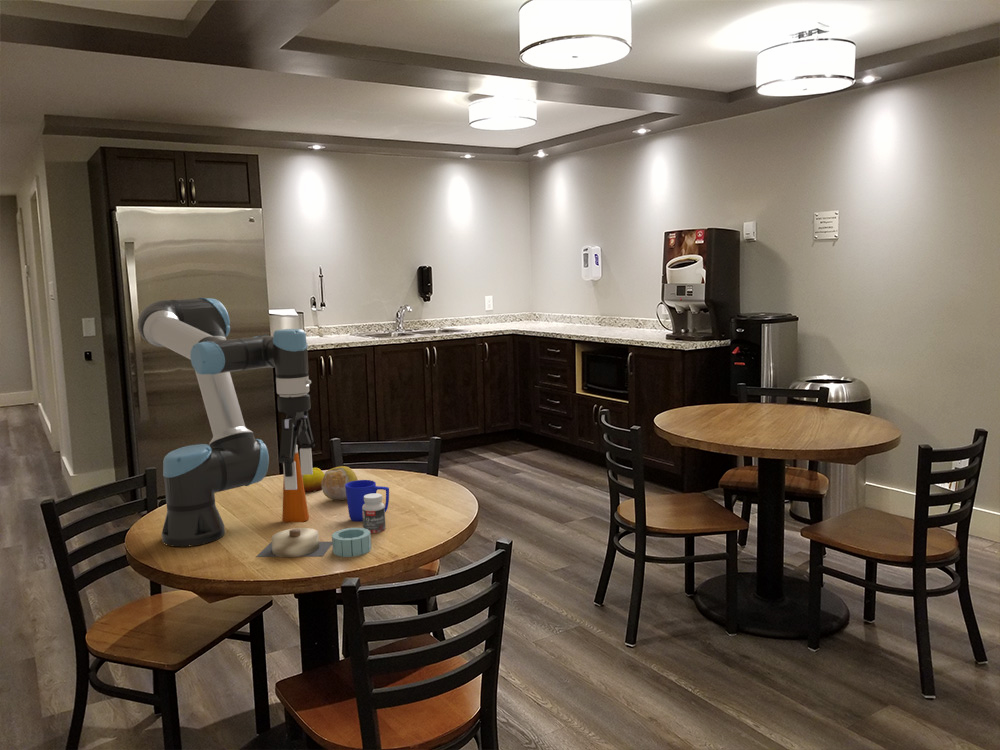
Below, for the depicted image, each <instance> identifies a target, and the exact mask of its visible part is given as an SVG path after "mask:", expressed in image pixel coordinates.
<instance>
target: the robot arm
mask: <svg viewBox="0 0 1000 750" xmlns="http://www.w3.org/2000/svg"><path fill="white" fill-rule="evenodd" d="M230 324H231V321H230V316H229V313H228V311H227V308H226V307H225V305H224V304H223V303H222V302H221V301H220V300H218V299H216V298H212V297H208V298H207V297H206V298H205V297H196V298H178V299H161V300H158V301H155V302H152V303H150V304H149V305H147V306H145V307H144V309H143V310H142V311H141V312H140V314H139V315H138V318H137V323H136V325H137V331H138V334H139V335H140V337H141V338H142V339H143V340H145V341H146V342H147V343H148V344H150V345H152V346H155V347H160V348H163V347H165V348H166V349H169V350H171V351H173V352H175V353H177V354H178V355H181V356H182V357H184V358H186V359H188V360H190V363H191V366H192V369H194V371H195V376H196V379H197V383H198V387H199V389H200V392H201V396H202V397H201V398H202V401H203V404H204V409H205V411H206V414H207V415H206V416H207V418H208V421H209V422H208V423H209V426H210V428H211V429H210V430H211V433H212V439H211V440H210V441H209V444H206V443H197V444H189V445H185V446H183V447H179V448H177V449H174V450H171V451H169V452H168V453H167V454H166V455H165V456H164V458H163V460H162V461H163V462H162V463H163V464H162V467H163V470H162V475H163V481H164V491H165V501H166V503H165V504H166V515H165V520H164V522H163V527H162V530H161V538H162V539H161V542H162V541H163V542H162V544H164V543H165V544H167V545H166V546H168V545H173V546H172V547H174V546H186V547H190V546H189V545H195V546H199V545H198V544H201V545H204V544H203V543H205V544H208V542H209V543H211V541H212V542H214V540H215V541H216V540H217V541H218V540H219V539H221V538H222V537H223V536H224V535H225V533H226V530H225V529H226V528H225V524H224V521H223V518H222V517H221V514H220V512H219V510H218V508H217V506H216V496H215V494H217V493H220V492H225V491H228V490H232V489H237V488H241V487H249V486H250V485H252V484H257V483H259V482H261V481H263V479H264V478H265V477H266V475H267V473H268V469H269V464H270V456H269V450H268V447H267V445H266V444H265V443H264V441H263V440H262V439H259V438H255V435H254V432H253V431H252V430H250V429H249V428H247V427H246V424H245V421H244V420H245V419H244V418H243V414H242V413H243V412H242V410H241V407H240V403H239V400H238V396H237V393H236V389H235V386H234V382H233V379H232V374H231V372H238V371H247V370H256V369H264V368H265V369H267V368H274V369H275V384H276V385H275V386H276V394H277V395H278V396H277V409H278V412H279V413H283V414H285V415H286V418H285V419H281V423H280V424H281V434H280V435H281V436H280V444H279V445H280V446H279V447H280V448H279V458H278V463H279V464H282V465H283V466H282V468H283V469H282V470H283V481H284V485H285V490H296V489H297V477H296V462H295V461H294V456H295V450H296V445H297V443H298V442H299V446H300V448H299V461H300V467H301V475H303V474H313V468H314V467H313V455H312V454H313V453H312V448H315V446H316V444H315V442H314V436H313V432H312V429H311V422H310V419H309V411H310V410H311V409H312V407H311V405H312V404H311V395H310V394H309V392H310V385H311V384H312V380H311V379H309V376H310V375H309V357H308V356H309V354H308V348H309V347H308V343H307V342H308V341H307V335H306V331H305V330H304V329H301V328H285V329H282V328H281V329H276V330H274V332H273V335H272V336H270V335H267V334H264V335H257V336H253V337H246V338H236V339H233V338H232V339H227V337H228V336H229V334H230V332H231V326H230ZM297 441H298V442H297ZM287 456H288V457H287ZM165 544H164V545H165Z"/></svg>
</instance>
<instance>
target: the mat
mask: <svg viewBox="0 0 1000 750" xmlns="http://www.w3.org/2000/svg"><path fill="white" fill-rule="evenodd" d="M331 547H332V541H319V549H318V550H316V551H315V552H313V553H310V554H307V555H303V556H299V557H298V558H300V557H301V558H303V557H307V558H308V557H310V558H311V557H313V558H315V557H317V558H319V557H324V555H325V554H326V553H327V552H328V550H329V549H330V548H331ZM255 557H256V558H281V557H280V556H276V555H274V554H273V552H272V541H270V542H269V544H268V545H266V546H265V547H264V548H263V549H262V550H261V551H260V552H259V553H258V554H257V555H256V556H255Z"/></svg>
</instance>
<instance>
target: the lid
mask: <svg viewBox="0 0 1000 750" xmlns="http://www.w3.org/2000/svg"><path fill="white" fill-rule="evenodd" d="M319 534H320V533H319V531H318V530H316V529H315V528H309V527H298V528H296V527H295V528H289V529H285V530H284V529H283V530H281V531H278V532H276V533H275V534H272V536H271V537H270V538H271V539H270V540H271V542H272V552H273V554H274V555H276V556H280V557H279V558H300V557H299V556H303V555H307V554H310V553H313V552H315V551H316V550H318V549H319V542H320V535H319Z"/></svg>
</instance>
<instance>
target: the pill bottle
mask: <svg viewBox="0 0 1000 750" xmlns="http://www.w3.org/2000/svg"><path fill="white" fill-rule="evenodd" d="M382 501H383V494H382V493H378V492H376V493H372V494H367V495H365V496H364V502H365V504H364V505H363V506H362V515H363V522H362V528H364V529H368V530H369V531H370V533H371V534H378V533H382V532H383V531H386V529H387V528H386V512H385V503H383V502H382Z"/></svg>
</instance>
